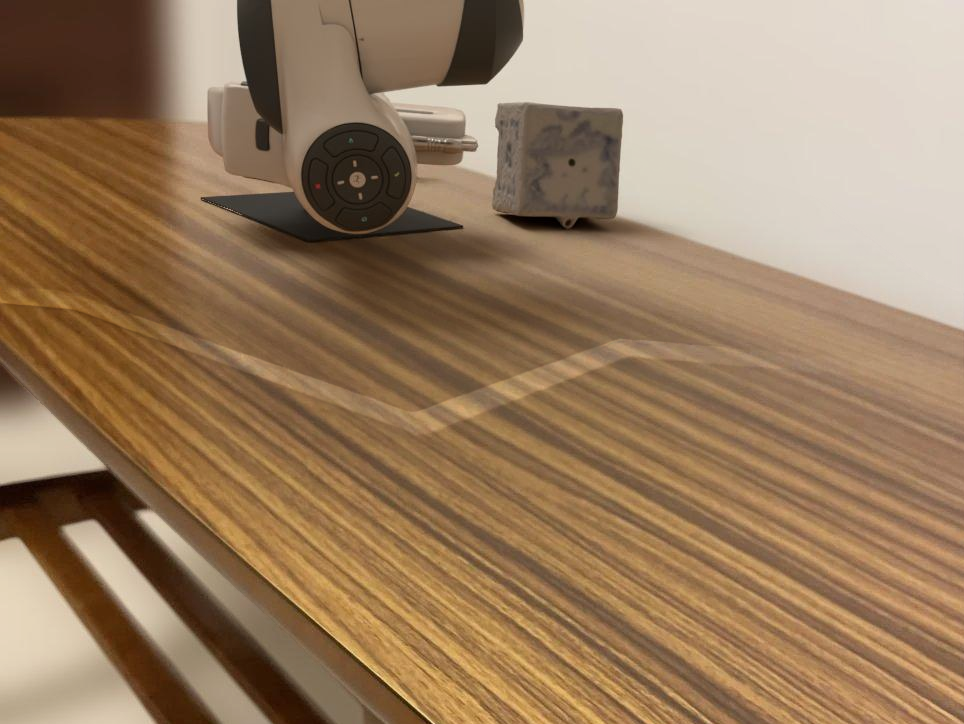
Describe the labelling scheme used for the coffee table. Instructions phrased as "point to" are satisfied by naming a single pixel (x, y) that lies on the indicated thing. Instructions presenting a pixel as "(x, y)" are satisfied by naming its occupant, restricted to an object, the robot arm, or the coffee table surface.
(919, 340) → the coffee table surface
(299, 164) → the robot arm
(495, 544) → the coffee table surface
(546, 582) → the coffee table surface
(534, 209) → the incense holder
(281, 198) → the mat
